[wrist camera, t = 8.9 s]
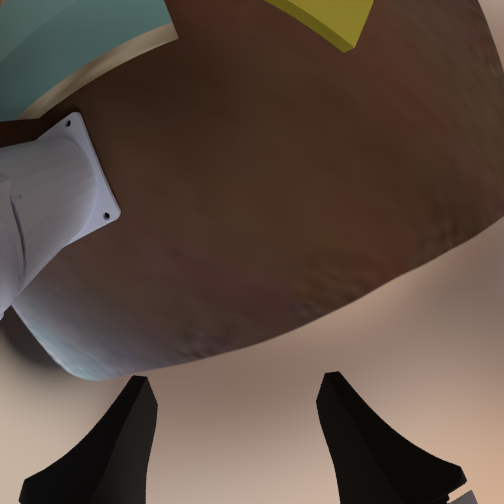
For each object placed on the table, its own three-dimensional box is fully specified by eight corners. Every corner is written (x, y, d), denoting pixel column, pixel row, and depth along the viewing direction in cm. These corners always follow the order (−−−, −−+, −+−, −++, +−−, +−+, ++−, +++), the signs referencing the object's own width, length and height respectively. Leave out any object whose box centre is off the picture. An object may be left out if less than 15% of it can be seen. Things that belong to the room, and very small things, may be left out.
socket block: (38, 118, 12) (14, 120, 10) (19, 4, 7) (0, -4, 4) (178, 38, 12) (172, 21, 10) (137, -67, 6) (129, -85, 4)
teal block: (14, 120, 10) (-54, 131, 4) (5, 78, 8) (-59, 77, 3) (172, 21, 10) (148, -35, 4) (156, -19, 8) (132, -77, 2)
